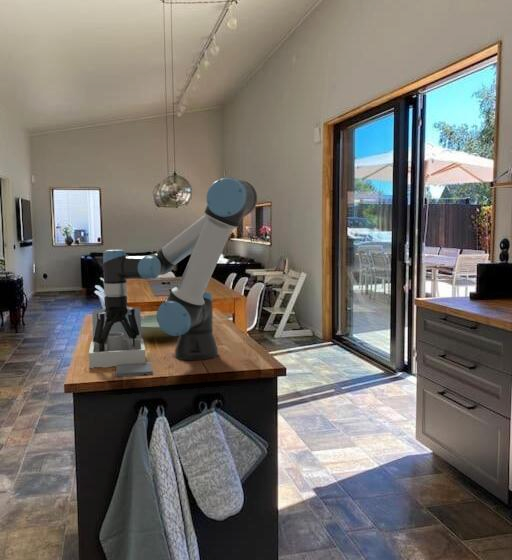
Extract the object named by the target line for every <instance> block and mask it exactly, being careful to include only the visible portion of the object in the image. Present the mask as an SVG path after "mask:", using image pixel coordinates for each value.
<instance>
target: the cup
mask: <svg viewBox="0 0 512 560" xmlns="http://www.w3.org/2000/svg"><path fill="white" fill-rule="evenodd" d="M124 342H127V346H128V348H127V350H132V342H131V340H130V339H129V338H127V337H124V334H123V333H109V335H108V337H107V339H106V342H105V343H106V344H107V350H108V351H121V350H124Z"/></svg>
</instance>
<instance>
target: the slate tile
mask: <svg viewBox="0 0 512 560" xmlns="http://www.w3.org/2000/svg"><path fill="white" fill-rule="evenodd" d="M151 363H152V362H146V363H135V364H119V365H116V369H115V376H116V378H118V377H119V376H120V377H132V376H133V377H134V376H145V375H144V374H149V375H153V372H154V371H153V367H152V364H151Z"/></svg>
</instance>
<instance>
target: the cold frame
mask: <svg viewBox="0 0 512 560" xmlns="http://www.w3.org/2000/svg"><path fill="white" fill-rule="evenodd" d="M130 308H131V309H134V310H135V319H136V323H137V326H138V330H139V335H137V337H136V338H135V346H134V347H133V350H127V342H124V350H121V351H104V352H99V343H96V342H94V341H93V339H94V334H95V329H96V324H97V313H104V312H105V309H104V308H102V309H92V310H91V313H92V314H91V315H92V341H91V342H90V346H89V351H88V364H89V365H88V367H89V369H95V368H94V367H102V368H113V367H112V366H116V365H119V364H135V363H147V362H146V347H145V343H144V342H145V341H144V339H143V338H142V322H141V321H142V319H141V318H142V317H141V308H140V307H130ZM127 309H129V308H127ZM105 317H106V316H105ZM126 318H127V320H128V323H129V325H130V322H129V319H128V314H126ZM106 319H107V317H106V318H105V320H104V326H105V321H106ZM109 322H110V321H109ZM104 326H103V328H104ZM130 327H131V326H130ZM109 333H123V334H124V337H127V338H129V336H128V335H127V333H126V331H125V329H124V327H123V326H122V324H121V322H117V323H114V325H113V326H112V327H111V330H110V332H109Z"/></svg>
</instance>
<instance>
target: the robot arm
mask: <svg viewBox="0 0 512 560" xmlns="http://www.w3.org/2000/svg"><path fill="white" fill-rule="evenodd" d="M206 204H207V205H206V208H205V209H204V212H203V214H204V215H202V217H200V218H198V219H196V221H194V222H193V223H192V224H191V225H189V227H187V228H186V229H184V230H183V231H182V232H180V233H179V234H178V235H177V236H175V237H174V238H173V239H172V240H171V241H169V242H168V243H167V244H165V245H164V246H163V247H162V248H160V249H159V250H158V251H156V252H155V253H153V254H148V255H127V252H126V251H125V250H124V249H106V250H104V251H103V253H102V257H103V258H102V265H103V266H102V267H103V291H104V292H103V293H104V298H103V299H104V300H103V301H104V307H105V308H106V309H105V312H104V313H97V324H96V329H95V334H94V339H93V338H92V342H93V341H94V342H96V343H99V352H104V351H108V350H107V344H106V343H105V342H106V339H107V337H108V335H109V332H110V330H111V327H112V326H113V325H114V323H117V322H121V324H122V326H123V327H124V329H125V331H126V333H127V335H128V336H129V339H130V340H131V342H132V350H133V347H134V346H135V338H136V337H137V335H139V330H138V326H137V323H136V319H135V310H134V309H131V308H132V307H130V308H129V309H127V307H128V296H127V294H128V284H127V279H140V280H141V279H143V280H153V279H154V280H155V279H157V278H158V276H164V275H166V274H168V273H170V272H171V271H172V270H173V269H174V267H175V265H177V264H178V263H180V262H181V261H182V260H184V259H185V258H186V257H188V256H189V255H190V254H191V255H190V257H189V259H188V262H187V264H186V267H185V269H184V272H183V274H182V276H181V278H180V281H179V282H178V285H177V286H175V287H172V288H171V290H170V292H169V295H168V296H167V299H166V300H165V301H164V302H162V303H161V304H160V306H159V307H158V308H157V311H156V322H157V323H158V327H159V328H160V329H161V331H163V332H164V333H165V334H167V335H169V336H173V337H177V336H179V337H178V339H177V342H176V343H177V344H176V347H175V349H174V356H175V358H176V359H179V360H185V361H188V360H189V361H202V360H204V361H205V360H209V359H213V358H215V357H218V355H219V349H218V346H217V344H216V339H215V337H214V334H213V333H214V331H213V327H214V326H213V301H214V300H213V295H212V293H211V291H210V292H209V291H206V289H207V287H208V285H209V282H210V280H211V278H212V275H213V274H214V271H215V269H216V267H217V264H218V263H219V262H218V261H219V259H220V257H221V255H222V252H223V250H224V248H225V247H226V243H227V241H228V239H229V236H230V234H231V232H232V230H235V229H238V228H239V226H240V224H241V221H242V219H244V218H245V217H247V216H248V215H250V214H251V213H252V212H253V211H254V210H255V208H256V206H257V204H258V193H257V191H256V189H255V187H254V186H253V185H252V184H251V183H250V182H249V181H246V180H243V179H237V178H233V177H223V178H220V179H218V180H216V181H214V182H213V183H212V184H211V185H210V186H209V188H208V190H207V193H206ZM126 314H128V319H129V322H130V325H129V323H128V320H127V318H126ZM105 316H106V317H107V319H106V321H105V326H104V320H105V318H106V317H105ZM109 321H110V322H109ZM103 326H104V328H103ZM130 326H131V327H130ZM127 348H128V346H127Z"/></svg>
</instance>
